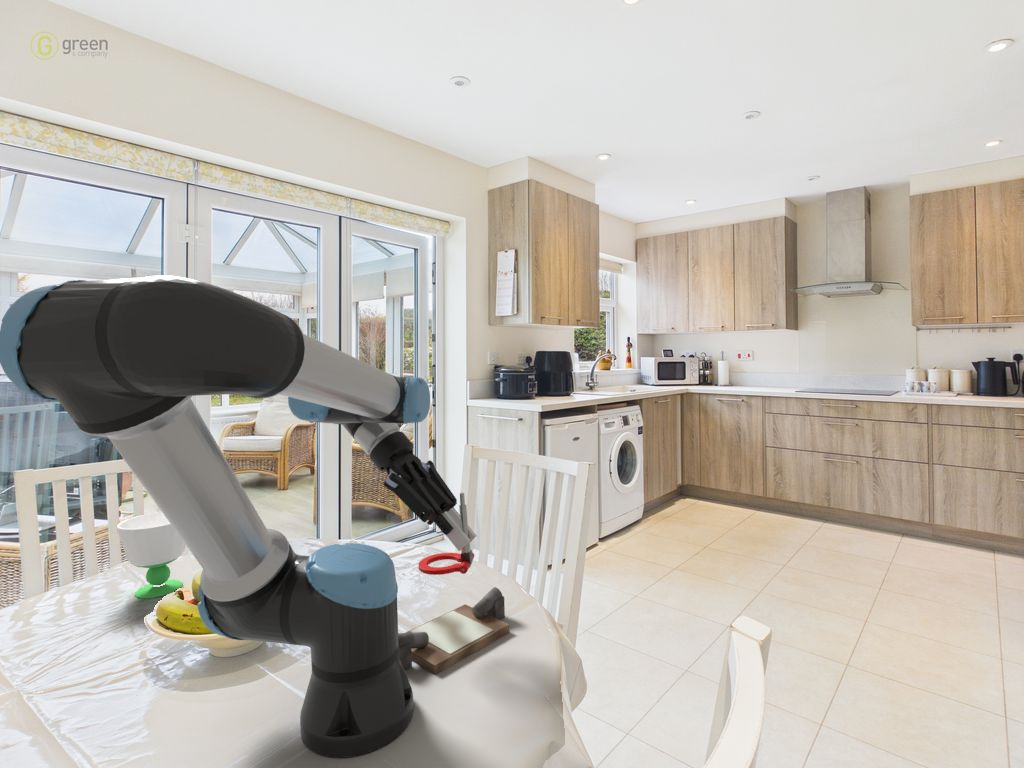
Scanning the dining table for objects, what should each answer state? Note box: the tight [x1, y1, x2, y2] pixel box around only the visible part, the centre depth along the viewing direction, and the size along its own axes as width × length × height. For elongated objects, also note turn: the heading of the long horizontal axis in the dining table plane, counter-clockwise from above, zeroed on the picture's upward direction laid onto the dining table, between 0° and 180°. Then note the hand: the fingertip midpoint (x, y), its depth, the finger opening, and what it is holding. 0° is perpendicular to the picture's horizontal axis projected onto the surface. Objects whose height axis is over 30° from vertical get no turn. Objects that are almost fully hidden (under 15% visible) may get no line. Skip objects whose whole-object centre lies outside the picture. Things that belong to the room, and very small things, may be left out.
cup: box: [116, 511, 186, 600], centre depth 119 cm, size 14×14×16 cm
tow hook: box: [417, 492, 475, 576], centre depth 93 cm, size 8×13×9 cm
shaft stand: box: [398, 586, 511, 675], centre depth 95 cm, size 24×12×6 cm, turn 136°
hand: (467, 543), depth 93 cm, fingers closed on tow hook, 2 cm apart
